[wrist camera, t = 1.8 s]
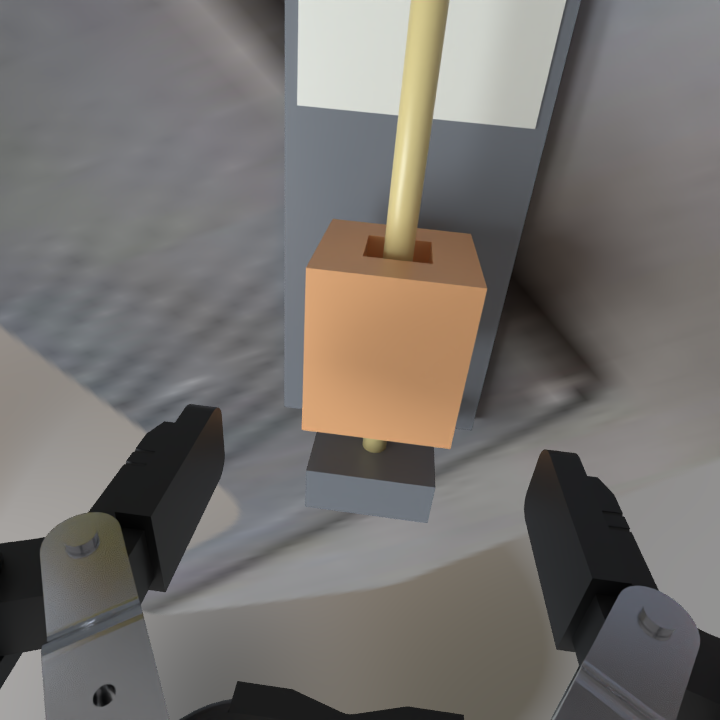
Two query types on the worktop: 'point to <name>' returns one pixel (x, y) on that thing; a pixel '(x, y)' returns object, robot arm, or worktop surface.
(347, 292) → the sleeve
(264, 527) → the worktop surface
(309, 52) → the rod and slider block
